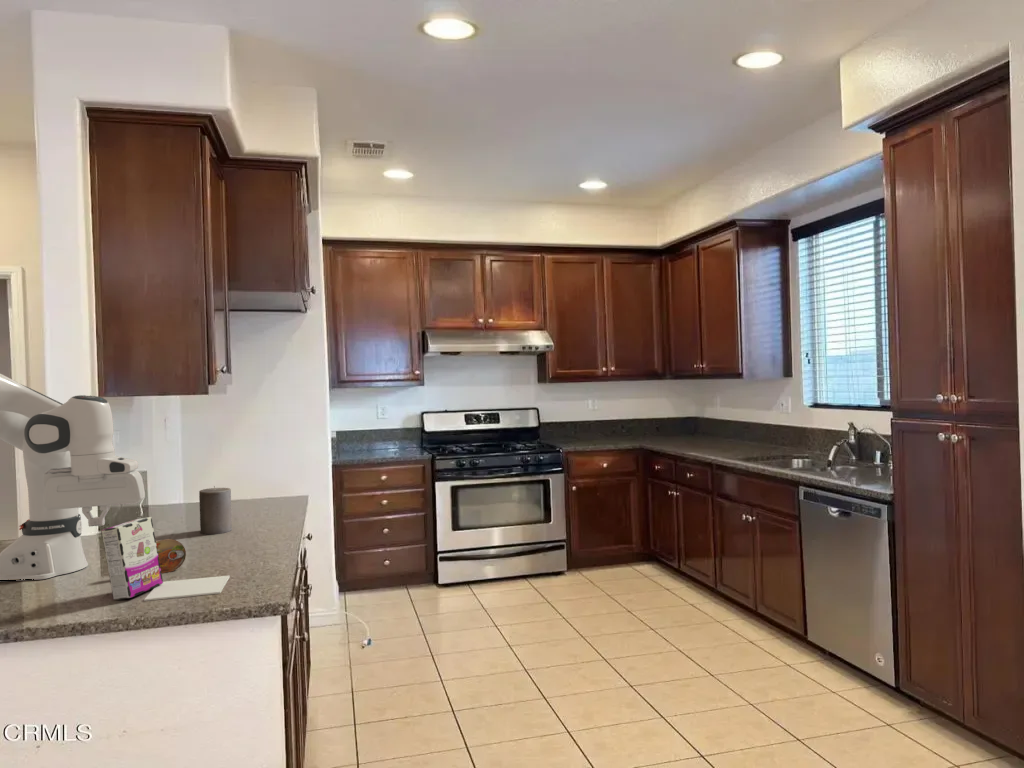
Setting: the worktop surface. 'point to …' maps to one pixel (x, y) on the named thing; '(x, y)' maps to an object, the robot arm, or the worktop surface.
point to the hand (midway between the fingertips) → (96, 525)
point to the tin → (170, 554)
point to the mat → (188, 588)
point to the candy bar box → (132, 558)
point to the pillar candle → (215, 510)
